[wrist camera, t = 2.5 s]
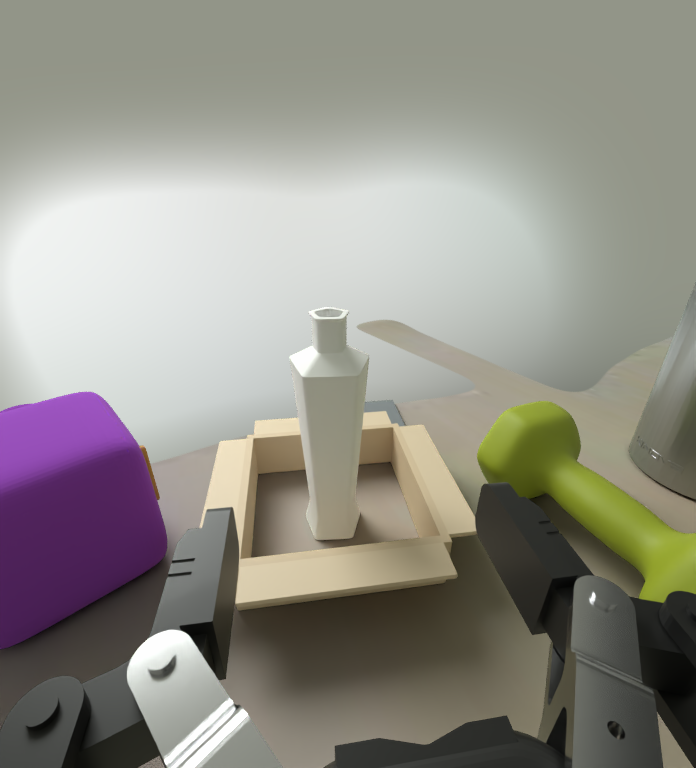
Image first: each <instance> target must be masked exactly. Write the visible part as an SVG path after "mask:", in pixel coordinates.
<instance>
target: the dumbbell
mask: <svg viewBox="0 0 696 768" xmlns="http://www.w3.org/2000/svg"><path fill="white" fill-rule="evenodd" d="M580 449H581V444H580V437H579V433H578V429H577V426H576V424H575V422H574V420H573V418H572V416H571V415H570V414H569V413H568V412H567V411H566V410H564V409H563V408H561V407H560V406H558V405H556V404H554V403H552V402H548V401H539V402H533V403H528V404H524V405H520V406H516V407H513V408H510V409H508V410H506V411H505V412H504V413H503V414H501V416H500V417H499V418H498V419H497V421H496V422H495V424H494V425H493V426H492V428H491V430H490V431H489V433H488V434H487V436H486V437H485V439H484V440H483V442H482V443H481V445H480V447H479V450H478V453H477V459H478V463H479V465H480V468H481V470H482V472H483V474H484V476H485V478H486V480H487V481H488V483H489V484H491V483H501V482H507V483H509V484H510V485H511V486H512V488H513V489H514V490H515V492H516V493H517V494H518V496H519V497H527V498H528V499H531V498H534V497H537V496H540V495H542V494H545V493H548V494H549V495H550V496H551V497H552V498H553V499H554V500H555V501H556V502H557V503H558V504H559V505H560V506H561V507H562V508H563V509H564V510H565V511H567V512H568V513H569V514H570V515H571V516H572V517H573V518H574V519H576V520H577V521H578V522H579V523H580V524H581V525H582V526H584V527H585V528H586V529H587V530H588V531H589V532H591V533H592V534H593V535H594V536H595V537H597V538H598V539H599V540H600V541H601V542H603V543H604V544H605V545H606V546H608V547H609V548H610V549H611V550H612V551H614V552H615V553H616V554H618V555H619V556H621V557H622V558H623V559H625V560H626V561H628V562H629V563H630V564H632V565H633V566H634V567H635V568H636V569H637V570H638V571H640V573H641V574H642V575H643V577H644V579H645V583H644V586H643V588H642V590H641V593H640V595H639V599H644V600H650V601H655V602H661V603H664V601H665V599H666V598H667V596H668V595H669V594H670V593H671V592H674V591H686V592H690V593H694V594H696V533H693V534H685V533H681V532H678V531H676V530H674V529H672V528H670V527H669V526H668V525H666V524H665V523H664V522H663V521H662V520H660V519H659V518H658V517H657V516H656V515H654V514H653V513H652V512H651V511H650V510H648V509H647V508H646V507H644V506H643V505H642V504H640V503H639V502H638V501H636V500H635V499H633V498H632V497H631V496H629V495H628V494H626V493H625V492H624V491H622V490H621V489H619V488H618V487H616V486H615V485H613V484H612V483H611V482H609V481H608V480H606V479H605V478H603V477H602V476H600V475H599V474H597V473H595V472H594V471H592V470H590V469H588V468H586V467H585V466H583V465H581V464H580V463H579V462H577V459H578V456H579V453H580Z"/></svg>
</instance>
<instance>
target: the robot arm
mask: <svg viewBox="0 0 696 768" xmlns="http://www.w3.org/2000/svg"><path fill="white" fill-rule="evenodd" d="M629 453H630V455H631V458H632V459H633V461H634V462H635V464H636V465H637V466H638V467H639V468H640V469H641V470H642V471H643V472H645V473H646V474H647V475H649V476H650V477H651V478H653V479H654V480H656V481H657V482H659V483H661V484H662V485H664V486H666V487H668V488H670V489H672V490H674V491H676V492H678V493H680V494H682V495H685V496H688V497H690V498H693V499H696V282H695V285H694V289H693V290H692V293H691V295H690V298H689V300H688V303H687V305H686V308H685V310H684V313H683V315H682V317H681V320H680V323H679V325H678V328H677V330H676V332H675V335H674V337H673V340H672V342H671V345H670V347H669V350H668V352H667V354H666V357H665V359H664V362H663V364H662V367H661V369H660V372H659V374H658V377H657V379H656V382H655V384H654V387H653V389H652V391H651V394H650V396H649V399H648V401H647V404H646V406H645V408H644V411H643V413H642V416H641V418H640V421H639V423H638V426H637V428H636V431H635V433H634V436H633V438H632V441H631V443H630V446H629ZM475 526H476V531H477V534H478V537H479V539H480V541H481V543H482V544H483V546H484V548H485V550H486V552H487V554H488V555H489V557H490V559H491V561H492V563H493V564H494V566H495V568H496V570H497V572H498V574H499V575H500V577H501V579H502V581H503V583H504V584H505V586H506V588H507V590H508V592H509V594H510V595H511V597H512V599H513V601H514V603H515V604H516V606H517V608H518V610H519V612H520V614H521V615H522V617H523V619H524V621H525V623H526V624H527V626H528V628H529V630H530V632H531V634H532V635H535V634H541V633H547V634H548V636H549V637H550V639H551V641H552V642H551V644H550V648H549V658H548V668H547V678H546V688H545V698H544V708H543V715H542V720H541V724H540V728H539V732H538V737H537V738H535V737H532V736H530V735H528V734H525V733H521V732H518V731H513V729H512V726H511V724H510V722H509V719H508V717H507V716H502V717H496V718H490V719H485V720H479V721H473V722H468V723H465V724H463V725H462V726H460V727H458V728H457V729H455V730H453V731H451V732H450V733H448V734H446V735H444V736H443V737H441V738H439V739H438V740H436V741H434V742H432V743H430V744H427V745H421V744H415V743H408V742H401V741H395V740H388V739H382V738H377V739H371V740H366V741H360V742H354V743H349V744H343V745H337V746H335V761H333V762H332V763H330V764H328V765H327V766H325V767H324V768H663V761H662V753H661V744H660V736H659V727H658V718H657V712H658V714H659V715H660V717H661V718H662V720H663V721H664V723H665V724H666V726H667V727H668V729H669V731H670V732H671V734H672V735H673V737H674V738H675V740H676V741H677V743H678V744H679V746H680V747H681V749H682V750H683V752H684V753H685V755H686V757H687V758H688V760H689V761H690V763H691V764H692V766H693V767H694V768H696V594H694V593H690V592H686V591H674V592H671V593H670V594H669V595H668V596H667V598H666V599H665V601H664V603H661V602H655V601H650V600H644V599H638V598H633V597H629V596H628V595H627V594H626V593H625V592H624V591H623V590H622V589H621V588H620V587H618V586H617V585H615V584H614V583H612V582H610V581H609V580H606V579H604V578H601V577H598V576H594V575H593V574H592V572H591V571H590V570H589V569H588V567H587V566H586V565H585V564H584V562H583V561H582V560H581V558H580V557H579V556H578V555H577V553H576V552H575V551H574V550H573V548H572V547H571V546H570V545H569V543H568V542H567V541H566V539H565V538H564V537H563V536H562V534H559V531H558V529H557V528H556V527H555V526H554V524H553V523H551V522H550V519H549V518H548V517H547V515H546V514H545V513H544V512H543V510H542V509H541V508H540V507H539V506H538V505H536V504H535V503H533V502H532V501H531V500H529V499H528V498H527V497H519V496H518V494H517V493H516V492H515V490H514V489H513V488H512V486H511V485H510V484H509V483H507V482H501V483H491V484H484V485H483V486H482V488H481V493H480V497H479V502H478V507H477V512H476V517H475ZM238 568H239V541H238V534H237V528H236V522H235V515H234V510H233V507H226V508H215V509H207V511H206V513H205V518H204V522H203V526H202V528H196V529H188V530H187V532H186V533H185V534H184V536H183V537H182V538H181V539H180V541H179V542H178V543H177V545H176V549H175V552H174V556H173V559H172V564H171V566H170V569H169V573H168V578H167V580H166V583H165V586H164V590H163V593H162V597H161V600H160V603H159V607H158V610H157V614H156V617H155V621H154V624H153V627H152V630H151V633H150V635H149V637H148V639H147V641H145V642H144V643H143V644H142V645H141V646H140V647H139V648H138V649H137V651H136V652H135V654H134V655H133V657H132V658H131V659H129V660H128V661H127V662H125V663H124V664H122V665H121V666H119V667H117V668H115V669H113V670H111V671H109V672H106V673H104V674H102V675H100V676H97V677H95V678H93V679H91V680H89V681H86V682H84V683H82V684H81V683H80V681H79V680H78V679H76V678H75V677H72V676H58V677H54V678H51V679H48V680H46V681H44V682H42V683H40V684H39V685H37V686H36V687H34V688H33V689H31V690H30V691H29V692H28V693H26V694H25V695H24V696H23V697H22V698H21V699H20V700H19V701H18V702H17V703H16V705H15V706H14V707H13V708H12V710H11V711H10V713H9V714H8V716H7V718H6V720H5V722H4V724H3V726H2V728H1V730H0V768H138V767H139V766H141V765H143V764H145V763H147V762H148V761H150V760H152V759H154V758H156V757H157V756H160V758H161V761H162V763H163V765H164V767H165V768H283V767H282V765H281V764H280V762H279V761H278V759H277V758H276V756H275V755H274V753H273V752H272V750H271V749H270V747H269V746H268V744H267V743H266V741H265V740H264V738H263V737H262V735H261V734H260V732H259V731H258V729H257V728H256V726H255V725H254V723H253V722H252V720H251V719H250V717H249V716H248V714H247V713H246V712H245V710H244V709H243V708H242V707H241V706H240V705H235V704H234V703H233V701H232V700H231V699H230V697H229V696H228V694H227V693H226V691H225V690H224V688H223V686H222V685H221V683H220V682H219V680H222V679H226V672H227V663H228V654H229V646H230V637H231V628H232V620H233V611H234V602H235V594H236V585H237V576H238Z"/></svg>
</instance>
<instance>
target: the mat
mask: <svg viewBox="0 0 696 768" xmlns="http://www.w3.org/2000/svg"><path fill="white" fill-rule="evenodd" d="M379 411H386V412H387V415H388V417H389V419H390V421H391V424H394V423H398V425H399V427H400V426H405V424H404V422H403V420H402V418H401V416H400V414H399V412H398V410H397V408H396V406H395V404H394V402H393V400H387V401H372V402H365V404H364V413H366V412H379Z"/></svg>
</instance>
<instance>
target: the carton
mask: <svg viewBox="0 0 696 768" xmlns="http://www.w3.org/2000/svg"><path fill="white" fill-rule="evenodd" d="M383 462H391V464H392V466H393V469H394V472H395V474H396V477H397V480H398V482H399V485H400V488H401V490H402V493H403V496H404V498H405V501H406V503H407V506H408V509H409V511H410V514H411V517H412V519H413V522H414V525H415V527H416V530H417V533H418V535H419V538H414V539H405V540H397V541H389V542H380V543H372V544H363V545H355V546H346V547H338V548H329V549H321V550H313V551H304V552H296V553H287V554H279V555H270V556H262V557H253V558H251V555H252V542H253V530H254V518H255V505H256V493H257V481H258V474H264V473H274V472H285V471H296V470H306V468H305V461H304V454H303V447H302V440H301V433H300V426H299V420H298V418H288V419H274V420H260V421H255V428H254V435H247V439H240V440H228V441H220V443H219V447H218V451H217V455H216V460H215V464H214V468H213V472H212V477H211V481H210V485H209V490H208V494H207V498H206V502H205V507H204V511H203V515H202V519H201V524H200V528H202V526H203V522H204V518H205V513H206V511H207V509H215V508H226V507H233V510H234V515H235V522H236V528H237V534H238V541H239V568H238V576H237V585H236V594H235V599H236V601H235V605H236V608H237V609H238V611H240V610H248V609H255V608H263V607H270V606H277V605H285V604H292V603H300V602H307V601H315V600H322V599H329V598H337V597H344V596H352V595H359V594H367V593H374V592H381V591H389V590H396V589H404V588H411V587H419V586H426V585H433V584H441V583H445V580H447V579H455V578H457V572H456V570H455V567H454V565H453V563H452V561H451V558H450V552H451V546H452V540H451V538H453V537H462V536H470V535H478V534H477V531H476V526H475V516H474V514H473V513H472V511H471V509H470V507H469V505H468V504H467V502H466V500H465V498H464V497H463V495H462V493H461V491H460V489H459V488H458V486H457V484H456V482H455V481H454V479H453V477H452V475H451V473H450V472H449V470H448V468H447V466H446V465H445V463H444V461H443V459H442V458H441V456H440V454H439V452H438V450H437V449H436V447H435V445H434V443H433V442H432V440H431V438H430V436H429V434H428V433H427V431H426V429H425V427H424V426H423V425H413V426H400V427H399V425H398V423H394V424H391V421H390V419H389V417H388V415H387V412H386V411H379V412H366V413H364V414H363V425H362V435H361V445H360V455H359V465H361V464H372V463H383Z"/></svg>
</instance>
